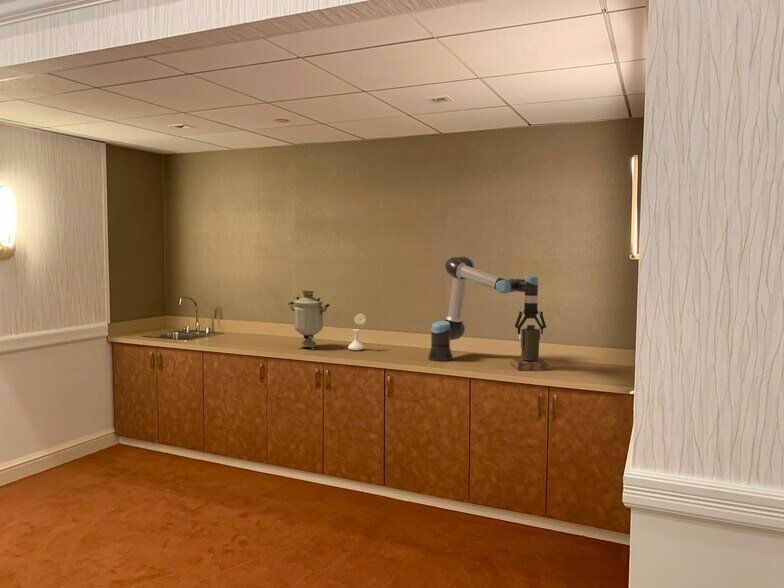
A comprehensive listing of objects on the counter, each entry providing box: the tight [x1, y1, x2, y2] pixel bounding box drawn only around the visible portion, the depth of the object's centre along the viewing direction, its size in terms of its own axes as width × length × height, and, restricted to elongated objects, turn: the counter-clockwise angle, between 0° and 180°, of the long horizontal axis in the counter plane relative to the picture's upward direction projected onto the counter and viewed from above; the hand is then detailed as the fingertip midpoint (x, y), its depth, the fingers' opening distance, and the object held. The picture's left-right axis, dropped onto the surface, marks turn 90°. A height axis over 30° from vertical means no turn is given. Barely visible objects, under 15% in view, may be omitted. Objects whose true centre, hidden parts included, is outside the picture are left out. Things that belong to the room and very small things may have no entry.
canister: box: [520, 324, 540, 361], centre depth 355 cm, size 11×10×20 cm
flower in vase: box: [347, 313, 367, 351], centre depth 408 cm, size 13×11×25 cm
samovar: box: [287, 289, 330, 350], centre depth 418 cm, size 30×26×40 cm
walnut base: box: [510, 357, 550, 371], centre depth 356 cm, size 18×18×4 cm
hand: (530, 339), depth 355 cm, fingers closed on canister, 11 cm apart
